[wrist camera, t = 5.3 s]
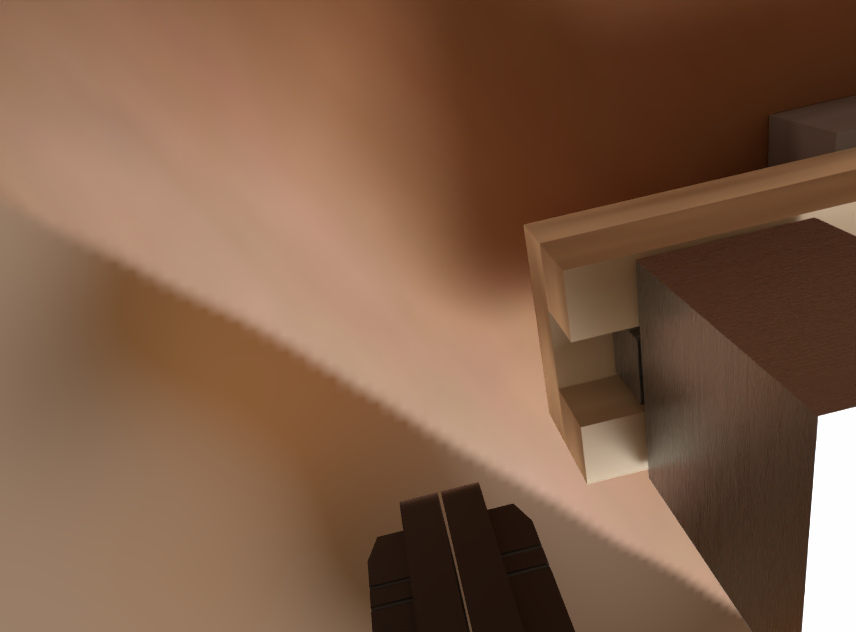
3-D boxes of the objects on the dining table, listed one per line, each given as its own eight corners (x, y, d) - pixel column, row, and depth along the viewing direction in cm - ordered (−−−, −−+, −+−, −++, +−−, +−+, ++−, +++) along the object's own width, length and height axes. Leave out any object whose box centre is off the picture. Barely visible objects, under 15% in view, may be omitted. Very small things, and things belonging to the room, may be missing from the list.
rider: (603, 231, 16) (835, 428, 9) (766, 193, 16) (1128, 355, 9) (621, 437, 19) (809, 720, 11) (759, 403, 19) (1033, 660, 12)
